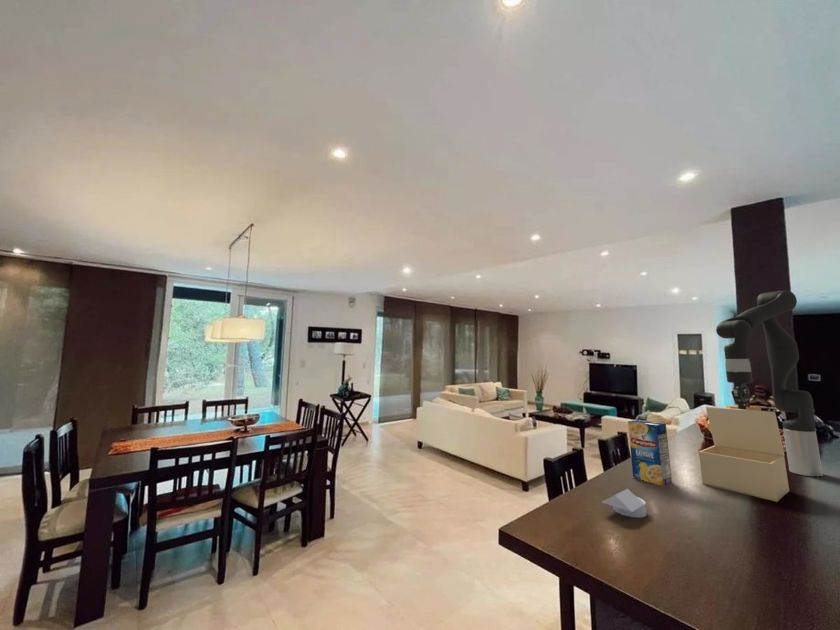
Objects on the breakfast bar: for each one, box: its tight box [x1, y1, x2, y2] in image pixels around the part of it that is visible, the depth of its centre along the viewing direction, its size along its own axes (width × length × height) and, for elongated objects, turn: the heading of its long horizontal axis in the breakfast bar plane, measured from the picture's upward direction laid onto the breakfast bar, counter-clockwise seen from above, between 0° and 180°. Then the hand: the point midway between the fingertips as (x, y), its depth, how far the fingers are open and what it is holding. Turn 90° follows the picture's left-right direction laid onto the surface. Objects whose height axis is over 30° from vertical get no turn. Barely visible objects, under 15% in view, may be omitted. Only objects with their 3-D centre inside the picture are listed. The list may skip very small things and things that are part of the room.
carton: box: [698, 444, 790, 503], centre depth 128 cm, size 16×20×12 cm
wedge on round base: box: [601, 488, 647, 518], centre depth 109 cm, size 9×7×13 cm
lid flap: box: [705, 404, 786, 457], centre depth 135 cm, size 16×20×6 cm
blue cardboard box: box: [627, 419, 673, 487], centre depth 138 cm, size 7×11×22 cm, turn 30°
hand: (743, 415), depth 136 cm, fingers closed
